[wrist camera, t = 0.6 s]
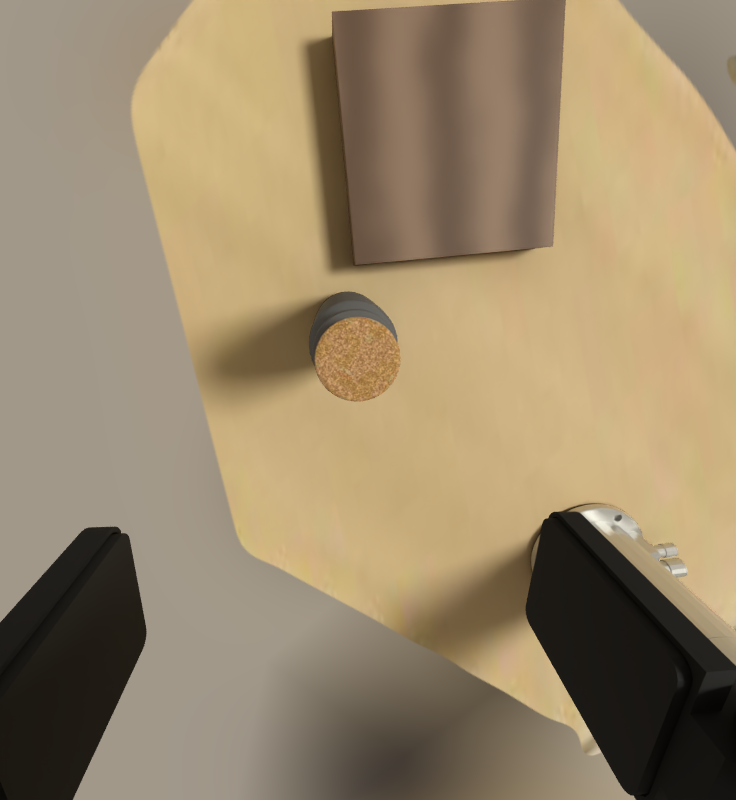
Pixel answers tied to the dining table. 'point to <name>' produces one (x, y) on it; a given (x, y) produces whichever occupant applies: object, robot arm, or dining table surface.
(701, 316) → the dining table surface
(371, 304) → the bottle
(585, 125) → the dining table surface
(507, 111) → the base
